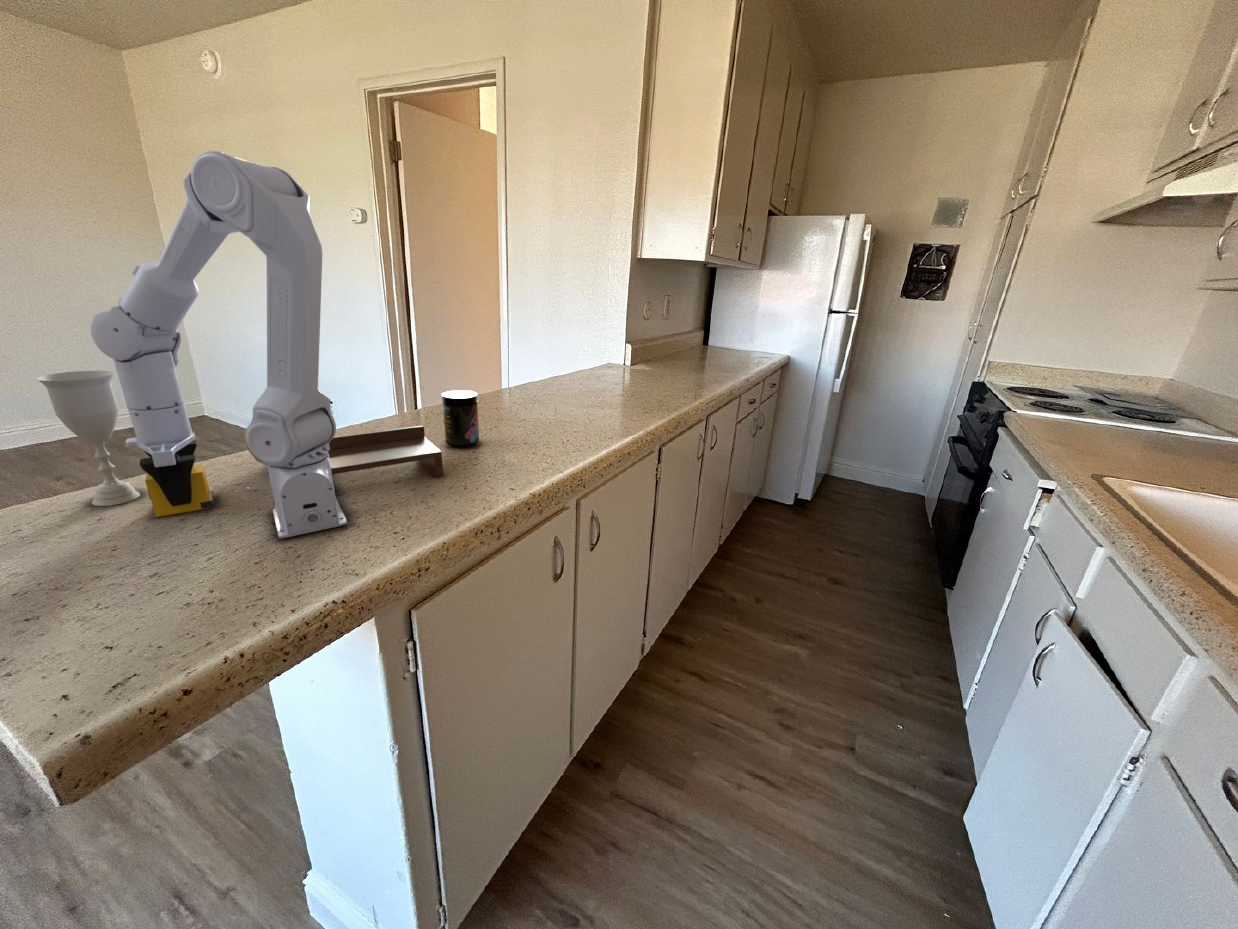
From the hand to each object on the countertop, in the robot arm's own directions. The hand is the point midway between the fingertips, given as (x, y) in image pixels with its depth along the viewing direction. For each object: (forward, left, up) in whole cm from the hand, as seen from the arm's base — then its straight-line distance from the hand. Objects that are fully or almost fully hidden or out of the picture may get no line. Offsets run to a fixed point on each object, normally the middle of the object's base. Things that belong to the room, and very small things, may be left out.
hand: (182, 498), depth 72 cm
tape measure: (0, 0, -1) cm, 1 cm away
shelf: (-1, -26, -1) cm, 26 cm away
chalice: (+8, +8, -2) cm, 11 cm away
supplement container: (+9, -44, -2) cm, 45 cm away
